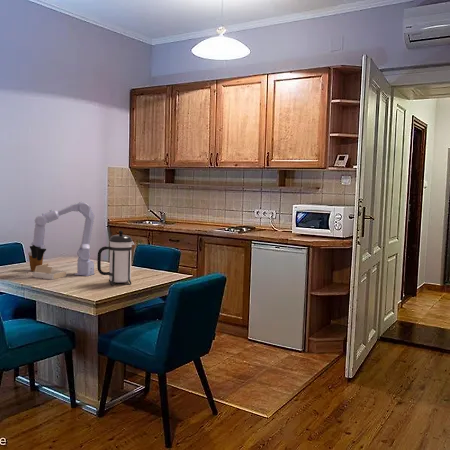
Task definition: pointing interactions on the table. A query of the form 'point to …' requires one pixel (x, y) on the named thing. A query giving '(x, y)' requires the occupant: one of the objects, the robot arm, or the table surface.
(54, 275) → the carton
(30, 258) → the disposable coffee cup
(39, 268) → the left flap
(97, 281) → the table surface
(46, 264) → the far flap
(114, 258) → the coffee press
